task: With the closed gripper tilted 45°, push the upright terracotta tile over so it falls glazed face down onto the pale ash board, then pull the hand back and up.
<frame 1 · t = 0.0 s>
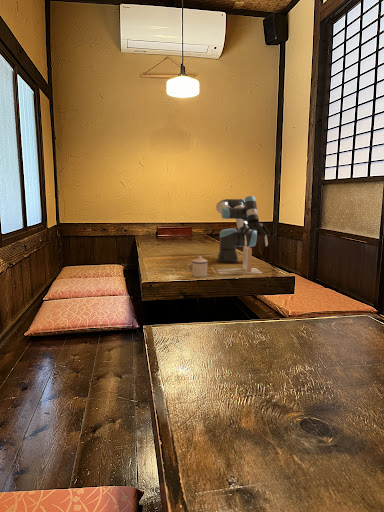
hand: (256, 245, 232), 16 cm above the table, tool tilted 35°, fingers open, 13 cm apart
teacup with lid: (197, 276, 215), on the table
tile: (246, 269, 227), point 1 cm above the table, touching board
board: (237, 271, 226), on the table
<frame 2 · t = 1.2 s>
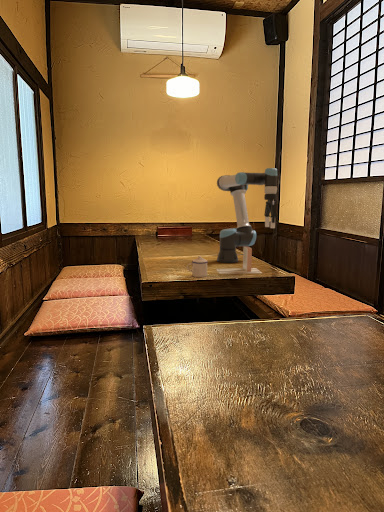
hand: (269, 227, 230), 27 cm above the table, tool pointing down, fingers open, 13 cm apart
nothing on the table moved.
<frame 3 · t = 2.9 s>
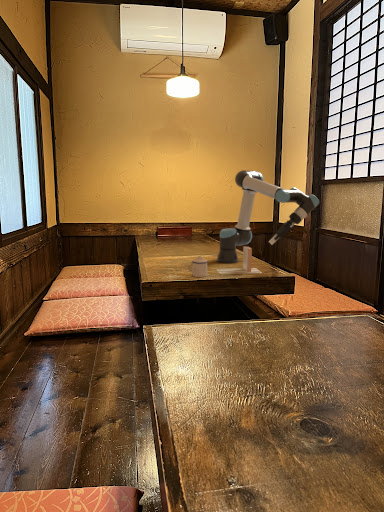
hand: (270, 243, 225), 18 cm above the table, tool tilted 45°, fingers closed
nothing on the table moved.
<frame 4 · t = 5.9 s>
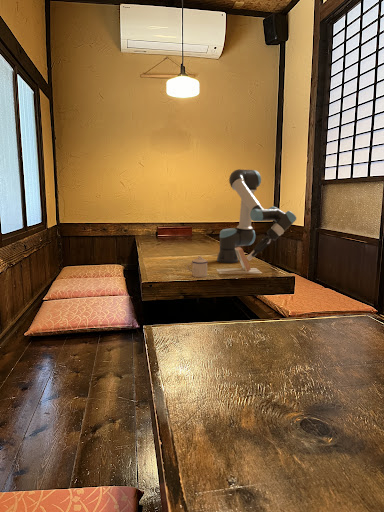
hand: (247, 259, 225), 8 cm above the table, tool tilted 45°, fingers closed
tile: (246, 268, 226), point 2 cm above the table, tilted 24°, touching board
everything else where it was.
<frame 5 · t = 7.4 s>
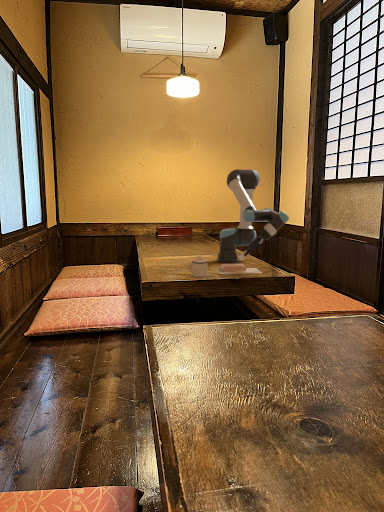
hand: (240, 259, 225), 8 cm above the table, tool tilted 45°, fingers closed
tile: (244, 267, 226), point 3 cm above the table, tilted 90°, touching board
everything else where it was.
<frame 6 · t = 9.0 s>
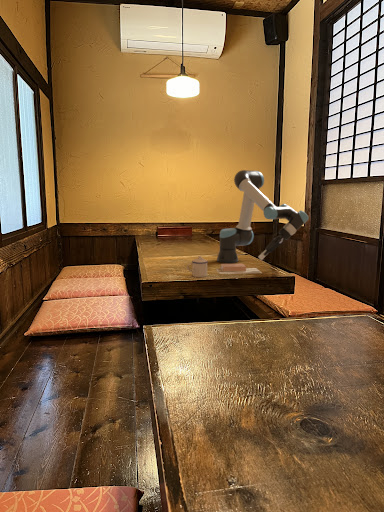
hand: (259, 258, 226), 8 cm above the table, tool tilted 45°, fingers closed
nothing on the table moved.
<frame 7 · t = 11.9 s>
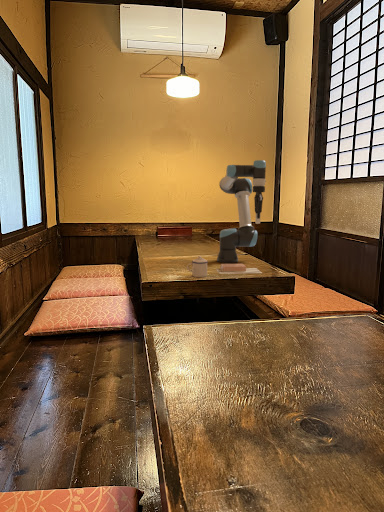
hand: (257, 223, 231), 29 cm above the table, tool pointing down, fingers closed
nothing on the table moved.
at the end: tile tilted 90°; tile inside the target area on the board (1.8 cm from its centre), point 2.7 cm above the board's base; the gripper is holding nothing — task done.
